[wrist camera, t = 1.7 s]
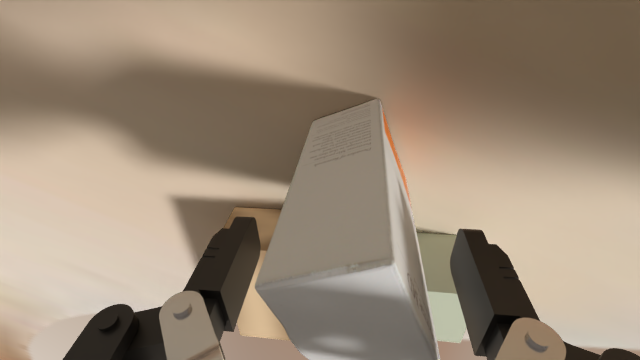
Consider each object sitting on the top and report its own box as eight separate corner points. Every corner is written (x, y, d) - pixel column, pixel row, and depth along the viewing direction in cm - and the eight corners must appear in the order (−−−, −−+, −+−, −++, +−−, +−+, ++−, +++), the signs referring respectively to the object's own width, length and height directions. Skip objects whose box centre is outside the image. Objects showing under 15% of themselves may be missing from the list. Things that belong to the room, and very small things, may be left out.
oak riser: (373, 214, 22) (374, 258, 19) (366, 302, 28) (366, 348, 24) (234, 207, 23) (213, 247, 20) (255, 292, 29) (240, 335, 26)
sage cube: (458, 234, 22) (479, 295, 18) (445, 280, 25) (460, 342, 21) (386, 230, 23) (389, 288, 19) (380, 275, 26) (383, 335, 22)
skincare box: (409, 180, 20) (448, 387, 10) (345, 196, 21) (327, 393, 12) (380, 92, 17) (397, 263, 7) (309, 117, 19) (244, 291, 9)
